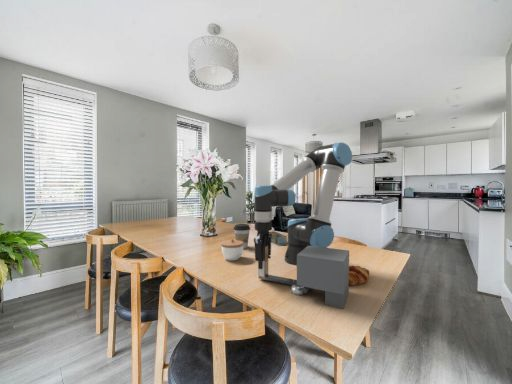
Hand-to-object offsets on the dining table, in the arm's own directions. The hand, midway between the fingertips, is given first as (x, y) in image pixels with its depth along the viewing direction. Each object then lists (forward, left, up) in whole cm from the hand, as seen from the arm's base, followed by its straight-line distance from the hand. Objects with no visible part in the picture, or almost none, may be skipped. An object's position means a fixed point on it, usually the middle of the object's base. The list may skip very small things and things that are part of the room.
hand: (263, 274), depth 102 cm
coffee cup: (-37, +41, -3) cm, 55 cm away
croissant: (+36, +18, -3) cm, 40 cm away
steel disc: (+17, -5, -2) cm, 18 cm away
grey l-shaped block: (+26, -2, -2) cm, 27 cm away
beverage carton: (-23, +66, -3) cm, 70 cm away
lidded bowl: (-29, +18, -3) cm, 34 cm away
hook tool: (+10, -2, -2) cm, 10 cm away
